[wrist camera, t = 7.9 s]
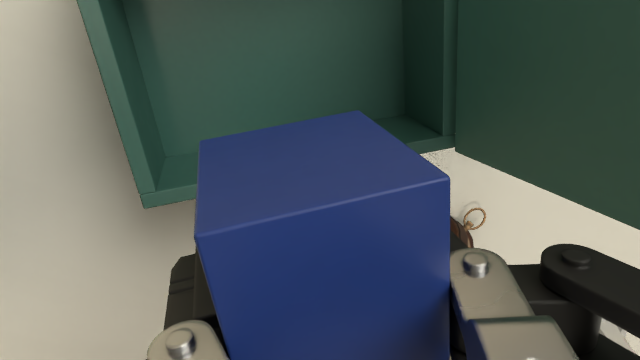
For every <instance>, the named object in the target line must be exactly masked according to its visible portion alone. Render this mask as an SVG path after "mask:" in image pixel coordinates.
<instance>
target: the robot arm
mask: <svg viewBox="0 0 640 360" xmlns="http://www.w3.org/2000/svg"><path fill="white" fill-rule="evenodd" d="M602 318H603V319H605V320H607V321H609V322H611V323H612V324H614V325H616V326H618V327H620V328H622V329H623V330H625V331H627V332H629V333H631V334H633V335H635V336H636V337H638V338H640V269H637V268H635V267H633V266H630V265H628V264H626V263H623V262H621V261H619V260H616V259H614V258H612V257H609V256H607V255H605V254H602V253H600V252H598V251H595V250H593V249H590V248H588V247H584V246H580V245H574V244H558V245H553V246H550V247H548V248H546V249H545V250H544V251H543V252H542V255H541V263H540V264H529V265H507V264H506V262H505V261H504V260H503V259H502V258H501V257H500V256H499V255H497V254H495V253H493V252H491V251H488V250H485V249H480V248H469V247H468V246H467V245H466V244H465V243H464V242H463V241H462V240H461V239H460V238H458V237H457V236H456V235H455V234H454V233H453V232H452V231H451V230H450V360H640V356H638V355H636V354H635V353H633V352H631V351H629V350H628V349H626V348H624V347H623V346H621V345H619V344H617V343H616V342H614V341H612V340H610V339H609V338H607V337H605V336H603V335H602V334H600V333H599V331H600V326H601V321H602ZM146 360H230V359H229V355H228V352H227V348H226V345H225V342H224V338H223V335H222V331H221V328H220V325H219V321H218V318H217V314H216V311H215V308H214V304H213V301H212V297H211V294H210V291H209V287H208V284H207V280H206V277H205V274H204V270H203V267H202V263H201V260H200V257H199V253H198V250H197V246H196V252H195V254H192V255H188V256H184V257H180V259H179V260H178V262H177V263H176V264H175V266H174V267H173V269H172V270H171V278H170V286H169V295H168V301H167V309H166V316H165V324H164V331H162V332H161V333H160V334H159V335H158V336H157V337H156V338H155V339H154V340H153V341H152V343H151V344H150V346H149V348H148V351H147V359H146Z"/></svg>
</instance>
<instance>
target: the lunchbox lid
mask: <svg viewBox="0 0 640 360" xmlns="http://www.w3.org/2000/svg"><path fill="white" fill-rule="evenodd" d="M455 151H456V152H458V153H460V154H462V155H465V156H467V157H469V158H472V159H474V160H476V161H479V162H481V163H483V164H486V165H488V166H491V167H493V168H495V169H498V170H500V171H502V172H505V173H507V174H509V175H512V176H514V177H516V178H519V179H521V180H523V181H526V182H528V183H531V184H533V185H535V186H538V187H540V188H542V189H545V190H547V191H549V192H552V193H554V194H556V195H559V196H561V197H563V198H566V199H568V200H570V201H573V202H575V203H578V204H580V205H582V206H585V207H587V208H589V209H592V210H594V211H596V212H599V213H601V214H603V215H606V216H608V217H610V218H613V219H615V220H617V221H620V222H622V223H625V224H627V225H629V226H632V227H634V228H636V229H639V230H640V0H459V2H458V46H457V91H456V135H455Z"/></svg>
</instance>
